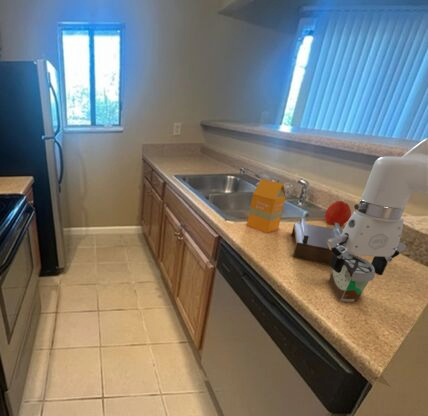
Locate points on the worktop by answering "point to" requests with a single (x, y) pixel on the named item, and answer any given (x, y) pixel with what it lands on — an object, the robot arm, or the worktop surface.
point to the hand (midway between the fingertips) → (354, 270)
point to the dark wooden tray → (314, 241)
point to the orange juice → (267, 206)
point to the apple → (338, 213)
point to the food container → (352, 278)
